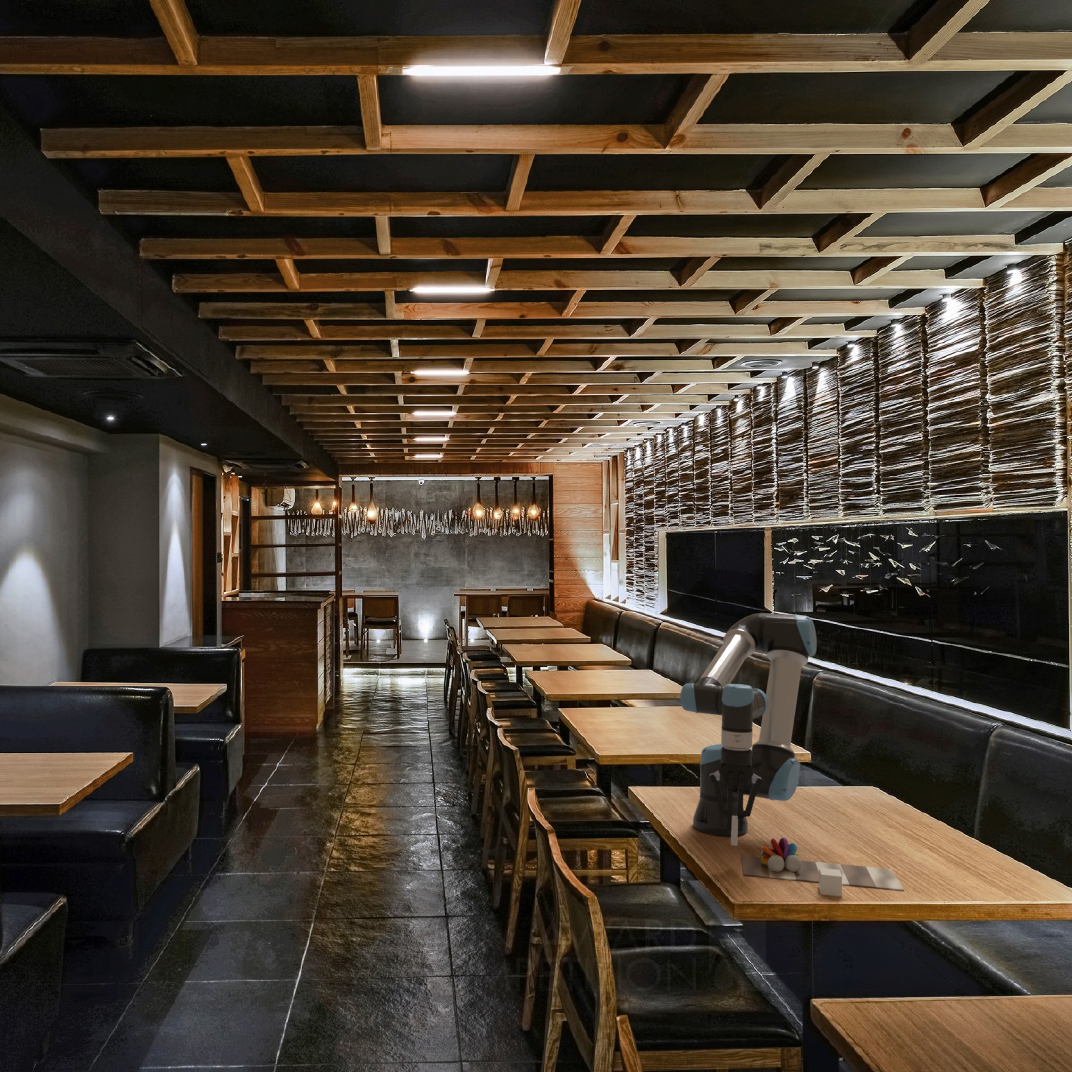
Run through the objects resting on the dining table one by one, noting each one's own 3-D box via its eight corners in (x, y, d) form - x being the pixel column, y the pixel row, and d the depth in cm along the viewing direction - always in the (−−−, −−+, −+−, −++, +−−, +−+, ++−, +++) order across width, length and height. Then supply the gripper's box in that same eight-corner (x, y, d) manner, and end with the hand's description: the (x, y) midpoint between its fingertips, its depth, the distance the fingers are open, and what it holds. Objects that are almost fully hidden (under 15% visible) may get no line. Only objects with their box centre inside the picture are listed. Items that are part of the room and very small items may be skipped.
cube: (820, 894, 193) (821, 874, 194) (818, 887, 198) (819, 867, 198) (841, 896, 192) (842, 876, 193) (839, 889, 197) (839, 869, 197)
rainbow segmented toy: (755, 861, 213) (755, 832, 213) (792, 861, 214) (793, 832, 214) (767, 874, 204) (767, 843, 205) (806, 874, 205) (806, 843, 205)
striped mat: (743, 875, 204) (743, 874, 204) (741, 856, 218) (741, 855, 218) (904, 890, 197) (904, 889, 197) (891, 870, 210) (891, 868, 210)
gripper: (709, 748, 210) (707, 845, 209) (764, 752, 207) (762, 851, 206) (709, 742, 217) (707, 836, 216) (762, 746, 214) (760, 841, 213)
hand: (734, 843), depth 211 cm, fingers closed
